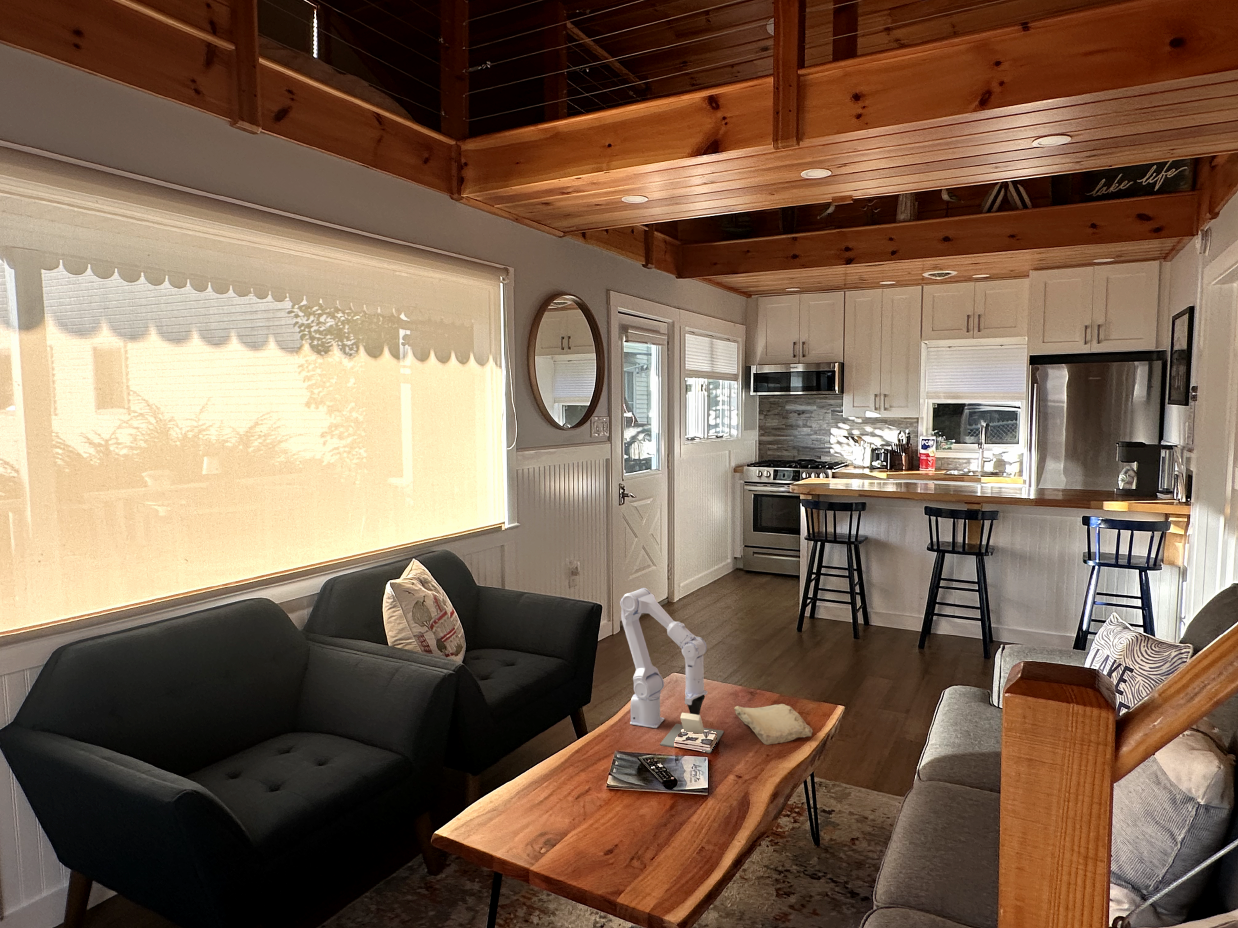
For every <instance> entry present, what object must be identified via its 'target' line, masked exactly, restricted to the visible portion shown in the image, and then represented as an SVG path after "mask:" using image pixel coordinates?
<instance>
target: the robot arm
mask: <svg viewBox="0 0 1238 928" xmlns="http://www.w3.org/2000/svg"><path fill="white" fill-rule="evenodd" d="M619 605H620V608H621V609H620V610H621V615H620V619H621V622H622V627H623V630H624V632H625V637H626V640H627V643H628V646H629V650H630V653H631V656H632V660H633V664H634V668H635V672H634V674H633V677H632V681H633V691H634V694H633V695H632V697H631V699H630V721H629V724H630V725H634V726H640V727H646V728H652V729H657V728H659V726H660V725H661V724H662V723H663V721H665V717H661V693H662V690H663V689H664V687H665V680H664V678H663V676H662V675H661V674H660V672H659V669H658V668H657V667H656V666H655V665H653V664H652V661H651V657H650V653H649V650H648V647H647V642H646V640H645V637H644V633H643V628H642V626H641V623H640V617H641V615H642V614H648V615H650V616H651V617H652V618H654V619H655V620H656V621H657V622H658V623H659V624H661V626H662V627H664V628H665V629H666V632H667V636H668V637H669V638H670V639H671V640H672V641H673V642H674V643H675V644H676V645H677V646H678V647H679V648H680V649H681V654H682V657H684V663H685V690H684V695H685V697H684V704H685V705H687V708H688V711H689V712H688V713H689V714H696V715H700V714H701V708H702V705H703V703H704V700H705V698H706V695H707V694H708V690H705V678H704V677H705V675H704V674H705V673H704V671H705V670H704V669H705V668H704V667H705V666H704V661H705V659H704V655H705V654H706V653H707V649H708V645H707V643H706V641H705V640H704V639H703V638H702V637H700V636H696V635H695V633H692V632H691V631H690V630H689V629H688V628H687V627H686V625H685V624H684V622H681V621H675V620H674V619H673V618H672V617H671V616H670V614H668V612H667V611H665V609H664V608H663V607H662V606H661V605H660V604H659V603H658V601H657V600H656V597H655V595H654V594H653V593H652V592H651V591H650V590H649V589H647V588H646V587H641V588H639V589H636V590H635V591H631V592H627V593H624V595H623V596H622V597H621V599H620V601H619ZM700 716H701V715H700Z"/></svg>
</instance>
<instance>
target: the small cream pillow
mask: <svg viewBox="0 0 1238 928" xmlns="http://www.w3.org/2000/svg"><path fill="white" fill-rule="evenodd" d="M733 709H734V711H735V715H736V716H737V717H738V718H739V719H740V720H741V721H742V722H743V724H744V725H747V726H748V727H750V729H751V730H752V731H753V732H754V734H755V735H756V737H757V738H758V739H759V740H760V741H761V742H762V743H763V744H764V745H766V746H768V745H774V744H783V743H788V742H791V741H793V740H797V739H798V738H806V737H812V734H813V728H812V727H810V725H808V724H807V723H806V721H805V720H804V719H803V718H802V717H801V715H800V713H798V712H797V711H795V709H793V707H792V706H790V705H787V704H784V703H780V704H772V705H767V706H761V707H743V706H740V705H736V706H735V707H734V708H733Z"/></svg>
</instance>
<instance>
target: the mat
mask: <svg viewBox="0 0 1238 928" xmlns="http://www.w3.org/2000/svg"><path fill="white" fill-rule="evenodd" d="M703 728H704V730H709V731H713V732H716V733H717V741H716V742H717V743H718V742H719V740H720V738H721V737H723V735H724V732H725V731H724V730H721V729H720V730H719V729H715V728H707V727H703ZM681 729H683V726H682V723H681V724H680V723H675V725H673V727H672V728H671V730H669V732H668V733H667V734H666V736H665V737H664V738H663V739H662V740H661V742H660V743H659V746H663V747H668V748H674V741H675V738H676V737H677V735H678V734H679V733H680V732H681ZM714 746H715V747H716V745H714ZM714 746H713V747H714ZM715 747H714V748H715ZM714 748H712V749H713V750H714ZM712 749H710V750H702V751H705V752H707V753H706V754H711V753H712V752H713V750H712ZM705 752H704V753H705Z"/></svg>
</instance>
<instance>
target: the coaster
mask: <svg viewBox="0 0 1238 928" xmlns="http://www.w3.org/2000/svg"><path fill="white" fill-rule="evenodd" d="M680 722H681V724H682V726H683V729H684V731H686V732H693V733H700V734H702V733H703V732H704V728H705V727H704V724H703V720H702V717H701V715H696V714H690V712H681V714H680Z"/></svg>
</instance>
